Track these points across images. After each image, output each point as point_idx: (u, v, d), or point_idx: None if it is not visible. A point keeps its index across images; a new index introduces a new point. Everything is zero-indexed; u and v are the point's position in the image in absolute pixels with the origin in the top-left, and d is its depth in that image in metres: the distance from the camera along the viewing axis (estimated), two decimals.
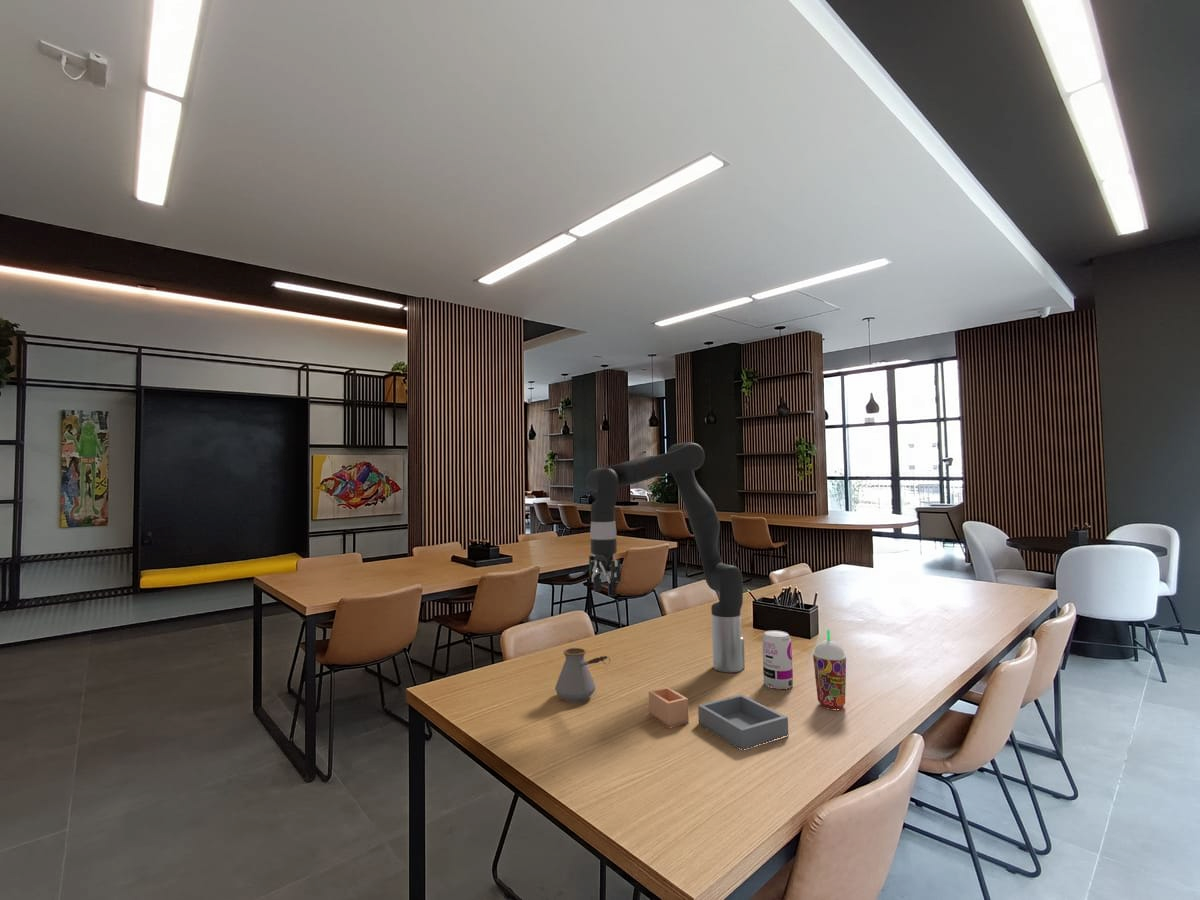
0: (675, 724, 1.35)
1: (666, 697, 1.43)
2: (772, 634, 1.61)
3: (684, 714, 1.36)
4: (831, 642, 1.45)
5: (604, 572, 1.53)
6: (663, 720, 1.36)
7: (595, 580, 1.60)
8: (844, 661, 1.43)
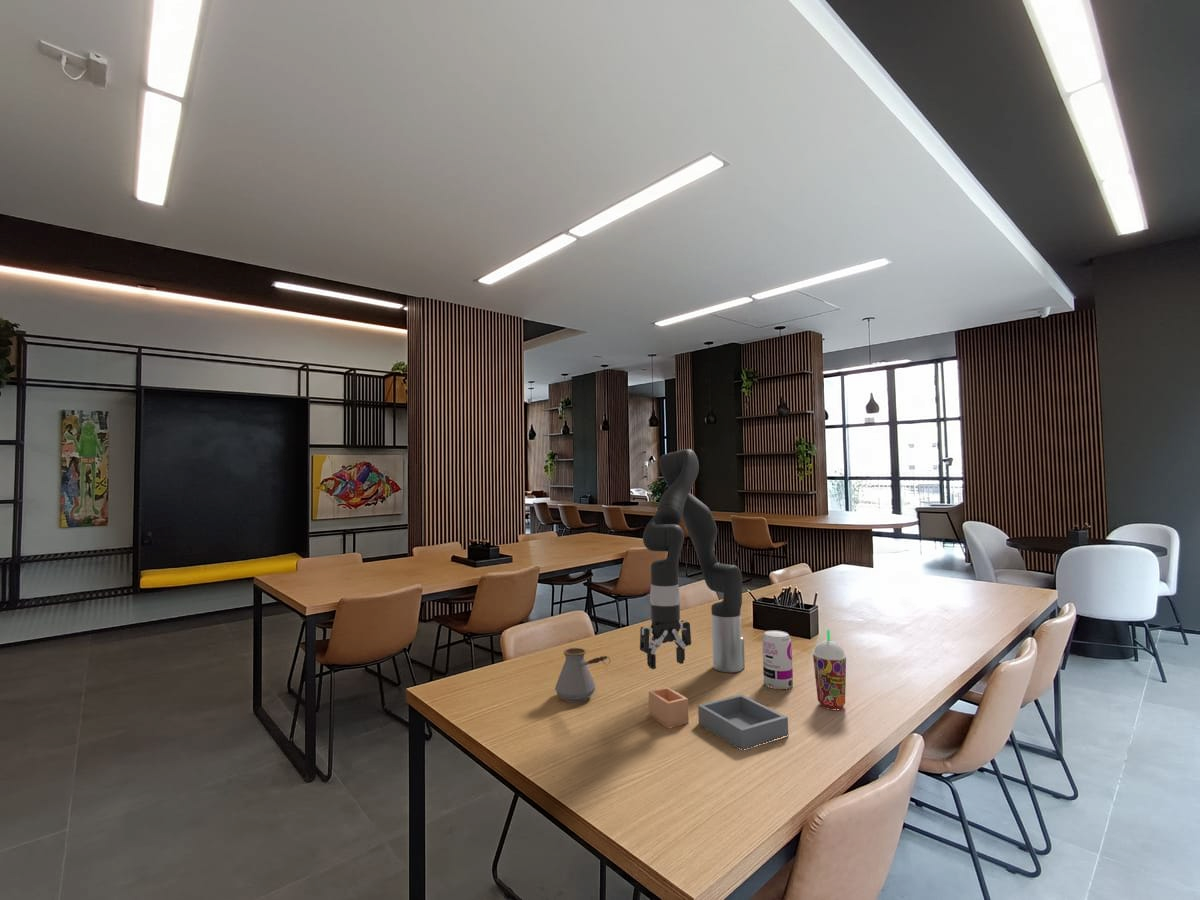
0: (675, 724, 1.35)
1: (666, 697, 1.43)
2: (772, 634, 1.61)
3: (684, 714, 1.36)
4: (831, 642, 1.45)
5: (679, 639, 1.40)
6: (663, 720, 1.36)
7: None
8: (844, 661, 1.43)
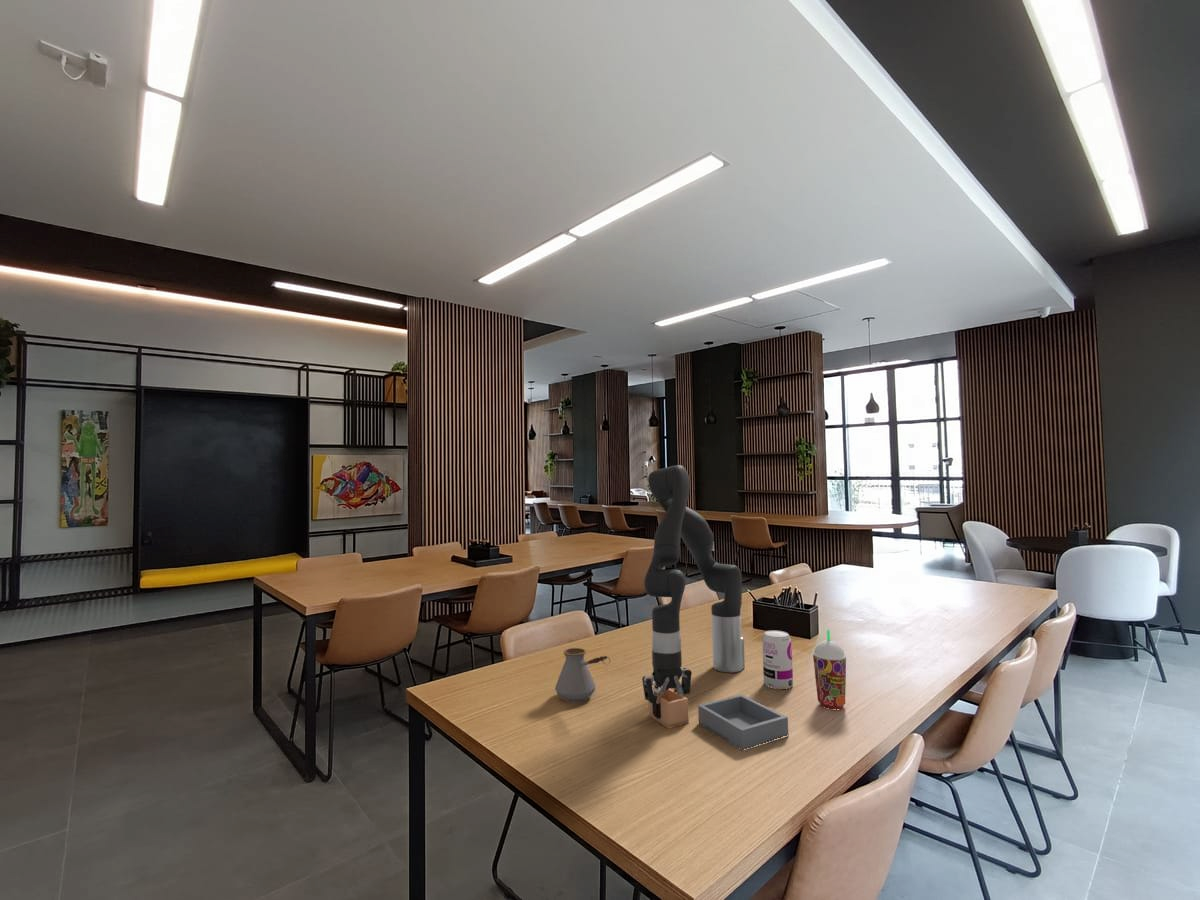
0: (675, 724, 1.35)
1: (666, 697, 1.43)
2: (772, 634, 1.61)
3: (684, 714, 1.36)
4: (831, 642, 1.45)
5: (679, 687, 1.39)
6: (663, 720, 1.36)
7: None
8: (844, 661, 1.43)
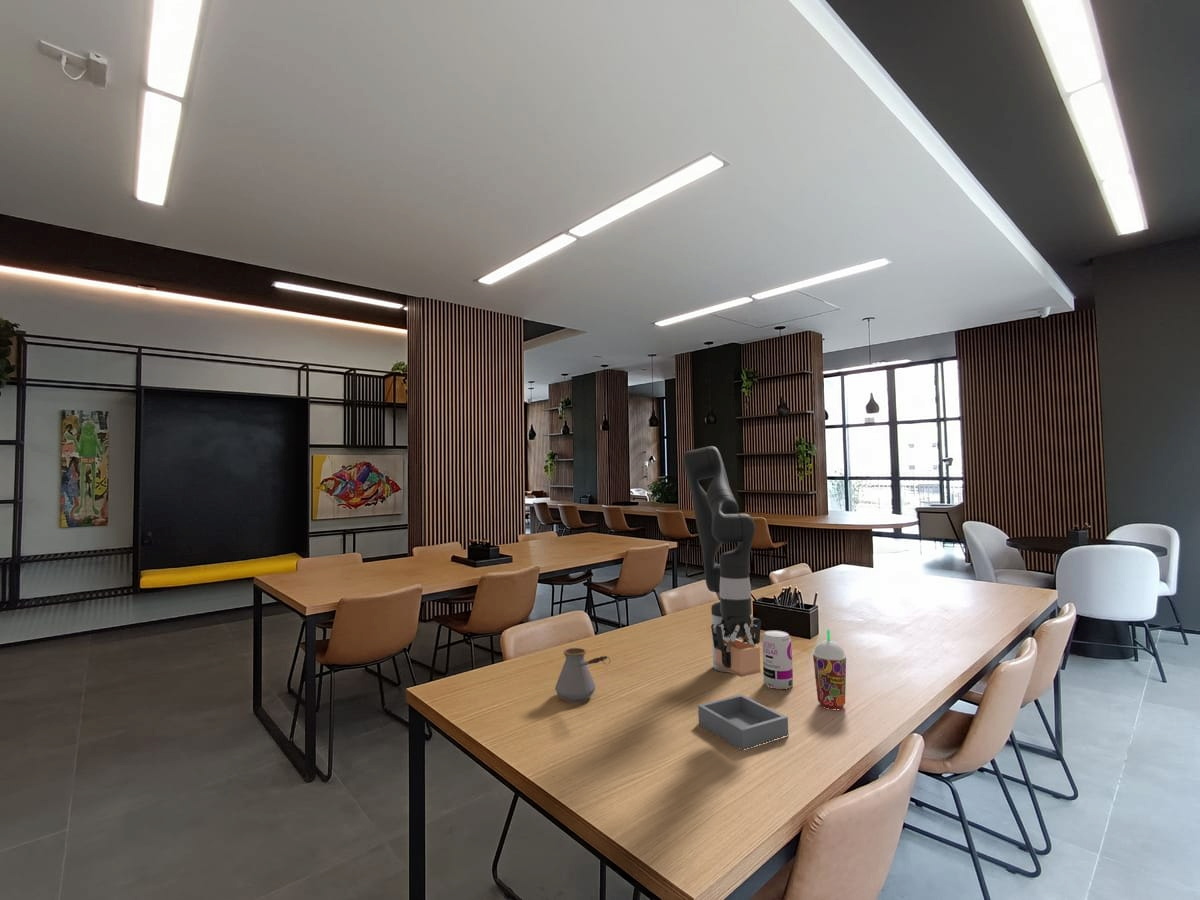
0: (747, 673, 1.29)
1: None
2: (772, 634, 1.61)
3: (756, 663, 1.30)
4: (831, 642, 1.45)
5: (749, 636, 1.33)
6: (734, 669, 1.30)
7: None
8: (844, 661, 1.43)
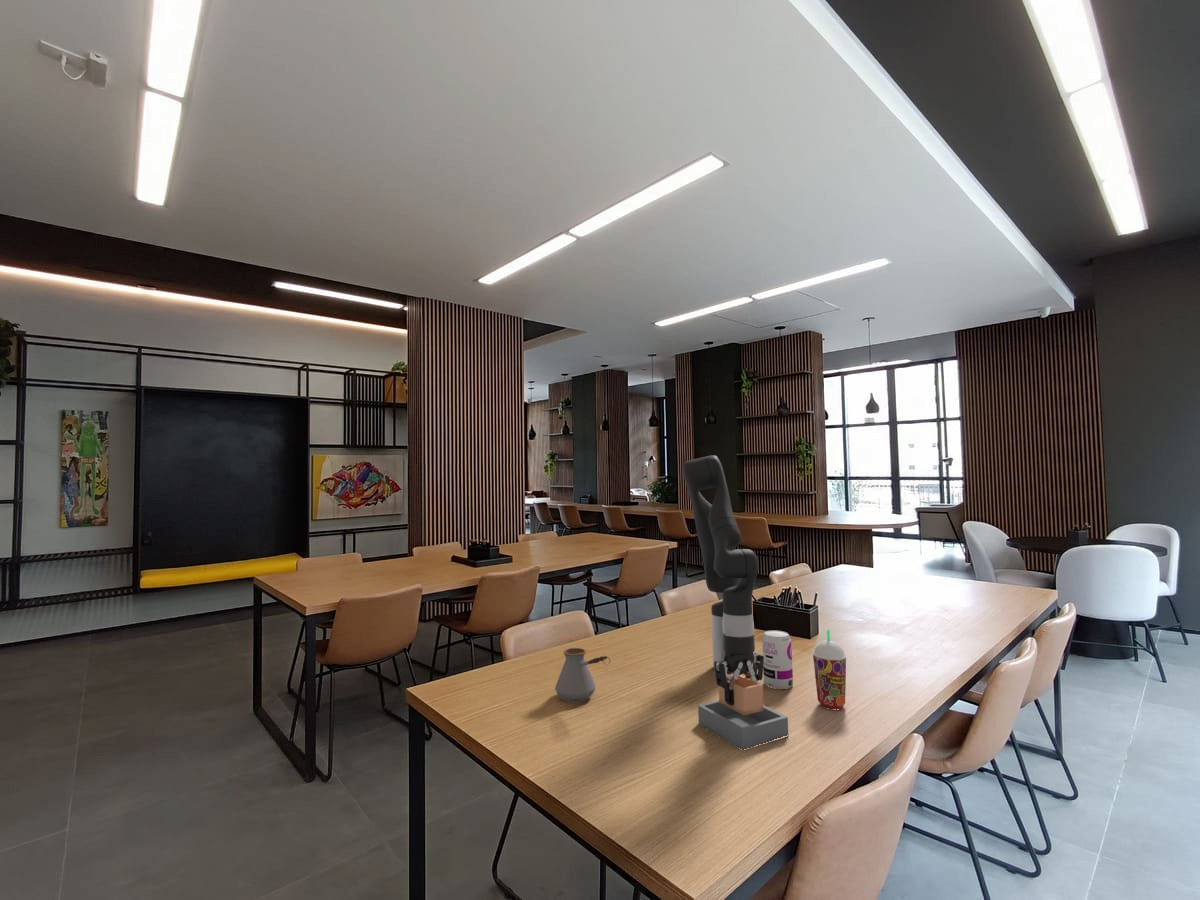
0: (750, 711, 1.28)
1: (736, 684, 1.37)
2: (772, 634, 1.61)
3: (759, 701, 1.29)
4: (831, 642, 1.45)
5: (752, 672, 1.33)
6: (737, 707, 1.29)
7: None
8: (844, 661, 1.43)
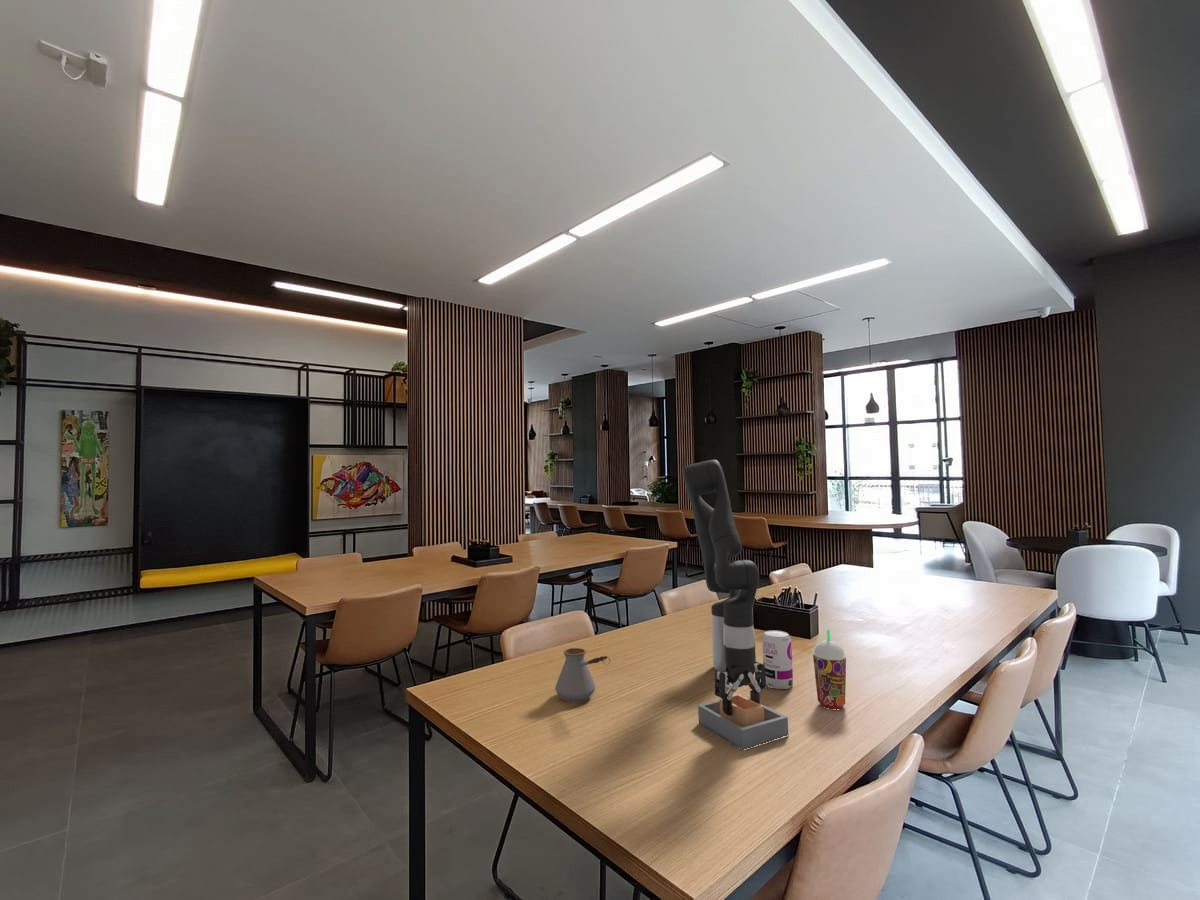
0: None
1: (737, 704, 1.36)
2: (772, 634, 1.61)
3: (760, 722, 1.29)
4: (831, 642, 1.45)
5: (755, 682, 1.33)
6: None
7: None
8: (844, 661, 1.43)
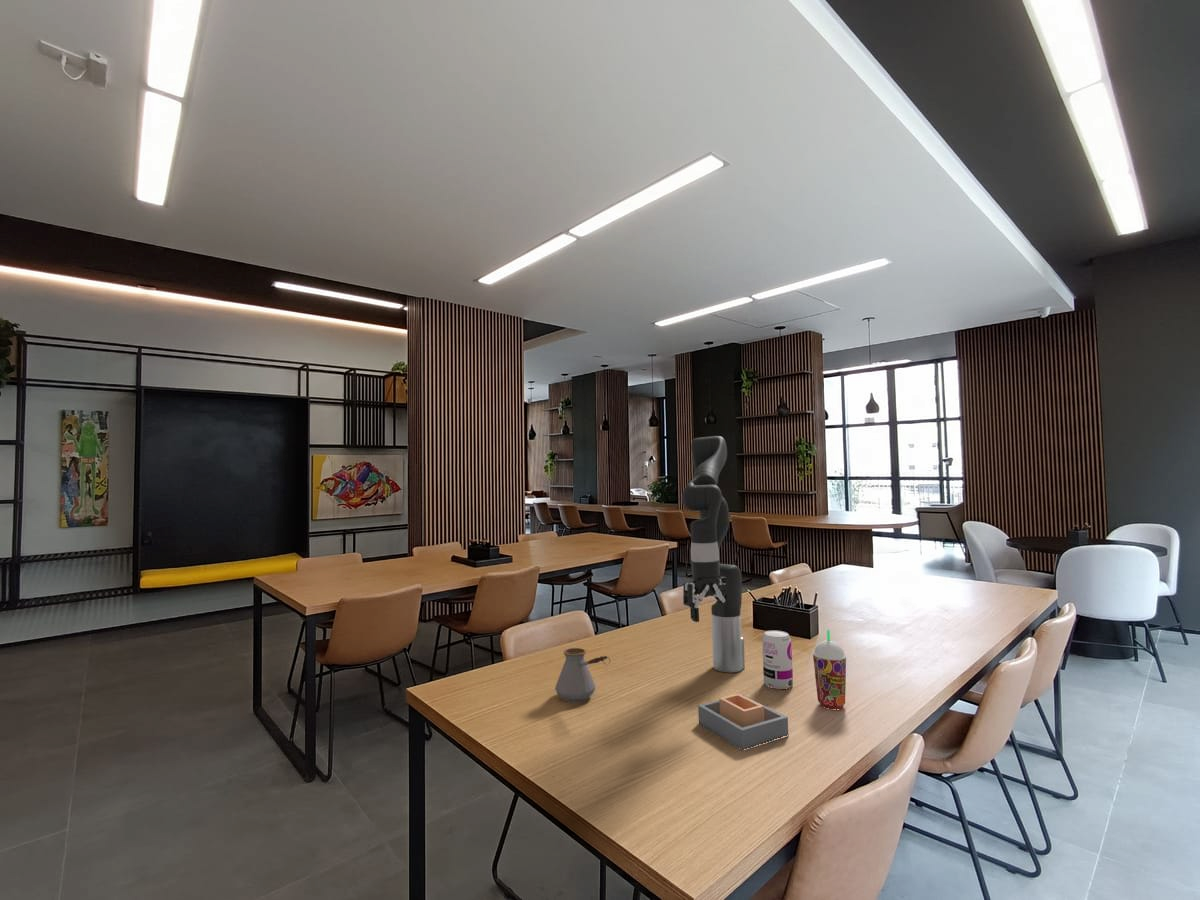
0: None
1: (737, 704, 1.36)
2: (772, 634, 1.61)
3: (760, 722, 1.29)
4: (831, 642, 1.45)
5: (719, 593, 1.48)
6: None
7: None
8: (844, 661, 1.43)
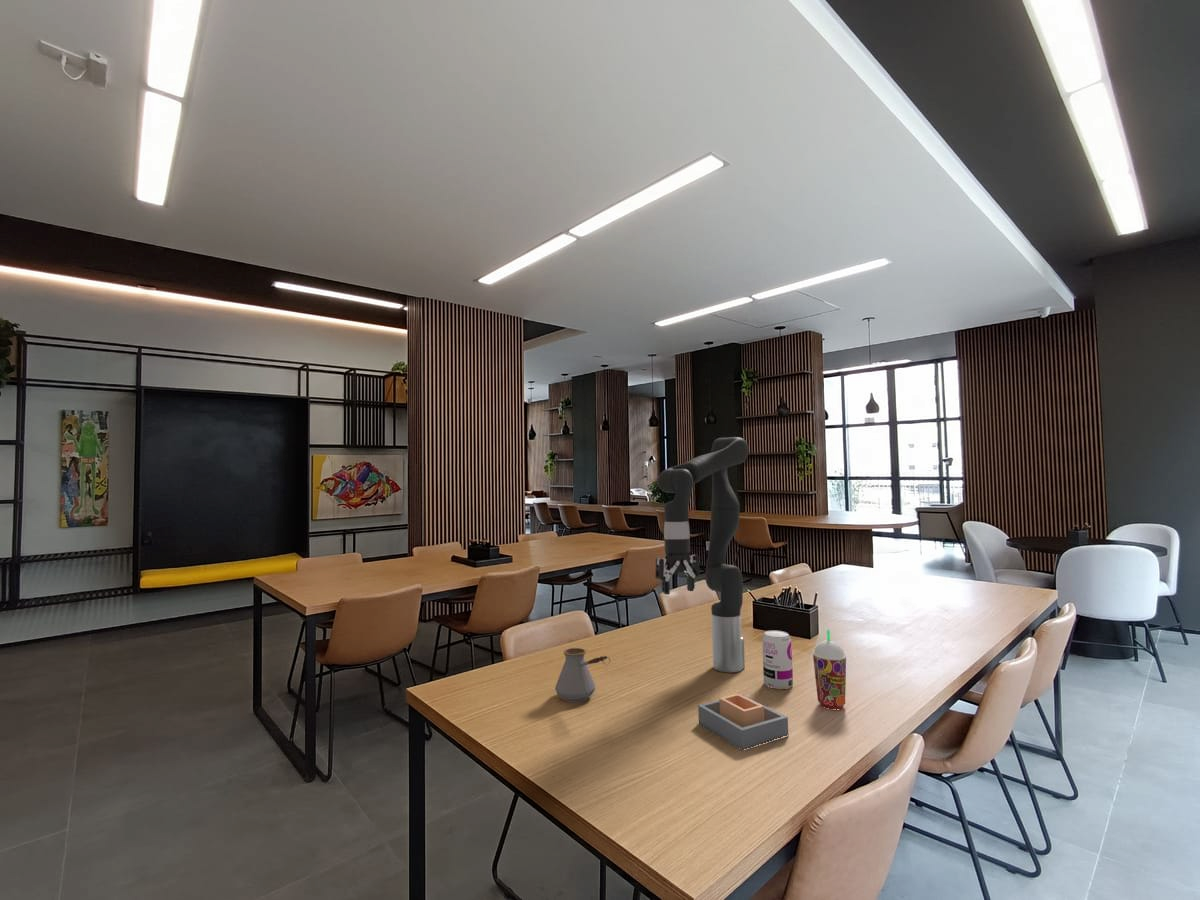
0: None
1: (737, 704, 1.36)
2: (772, 634, 1.61)
3: (760, 722, 1.29)
4: (831, 642, 1.45)
5: (690, 569, 1.60)
6: None
7: None
8: (844, 661, 1.43)
